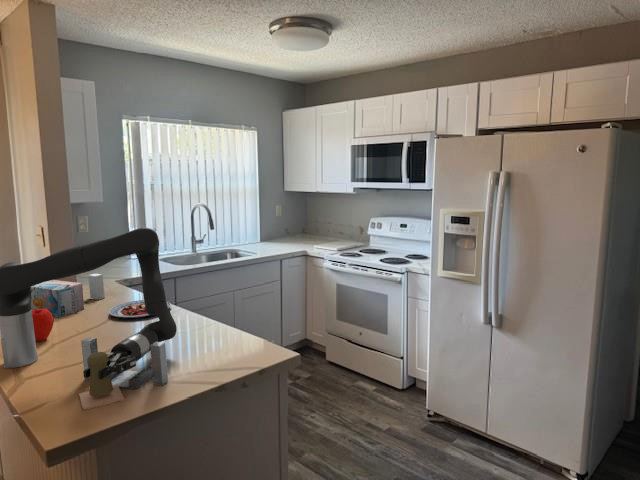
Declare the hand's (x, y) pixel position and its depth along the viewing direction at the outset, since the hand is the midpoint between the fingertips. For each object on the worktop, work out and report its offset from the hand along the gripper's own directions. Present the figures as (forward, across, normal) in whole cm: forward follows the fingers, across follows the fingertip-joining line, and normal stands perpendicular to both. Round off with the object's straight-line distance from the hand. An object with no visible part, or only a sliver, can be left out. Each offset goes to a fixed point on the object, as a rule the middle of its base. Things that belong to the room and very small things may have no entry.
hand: (92, 375), depth 124 cm
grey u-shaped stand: (-14, 0, +8) cm, 16 cm away
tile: (-3, 0, +8) cm, 8 cm away
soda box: (-73, -86, +9) cm, 113 cm away
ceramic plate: (-76, -36, +9) cm, 84 cm away
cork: (-3, 0, +6) cm, 7 cm away
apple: (-38, -54, +8) cm, 67 cm away
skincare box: (-93, -71, +9) cm, 117 cm away
